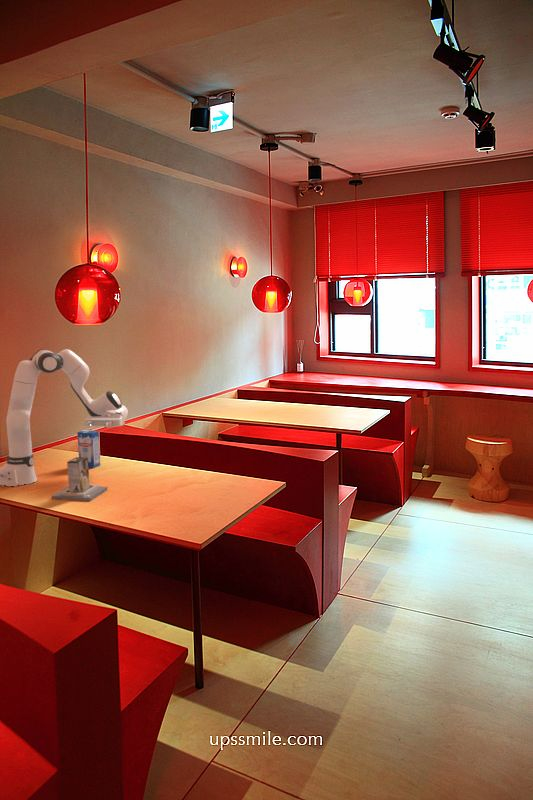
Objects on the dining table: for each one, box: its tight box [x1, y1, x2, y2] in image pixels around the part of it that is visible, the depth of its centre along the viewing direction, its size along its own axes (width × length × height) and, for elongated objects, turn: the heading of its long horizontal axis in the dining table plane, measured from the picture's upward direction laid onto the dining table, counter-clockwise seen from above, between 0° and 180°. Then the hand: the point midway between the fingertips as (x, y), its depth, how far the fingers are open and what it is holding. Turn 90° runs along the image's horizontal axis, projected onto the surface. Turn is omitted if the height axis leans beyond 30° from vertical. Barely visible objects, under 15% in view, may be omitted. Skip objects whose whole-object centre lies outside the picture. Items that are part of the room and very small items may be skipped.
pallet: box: [51, 483, 108, 502], centre depth 299 cm, size 20×18×3 cm
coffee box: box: [66, 456, 91, 493], centre depth 297 cm, size 9×6×16 cm
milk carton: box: [76, 429, 101, 469], centre depth 349 cm, size 10×6×20 cm, turn 71°
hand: (96, 425), depth 317 cm, fingers open, 8 cm apart
